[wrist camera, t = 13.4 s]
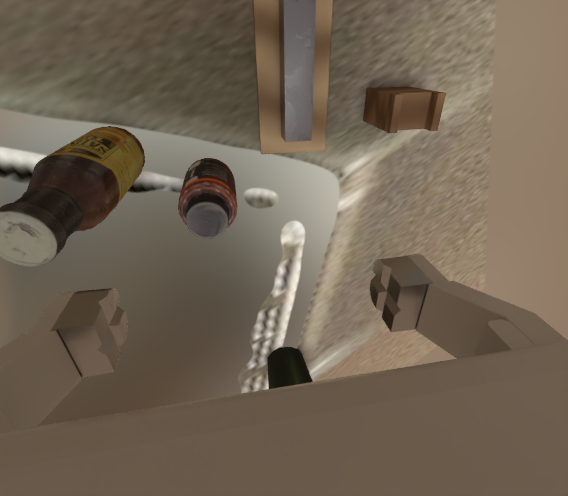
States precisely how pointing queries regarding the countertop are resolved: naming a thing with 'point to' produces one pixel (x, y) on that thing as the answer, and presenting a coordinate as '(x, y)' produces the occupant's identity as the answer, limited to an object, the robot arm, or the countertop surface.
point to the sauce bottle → (69, 194)
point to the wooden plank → (270, 77)
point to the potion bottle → (287, 368)
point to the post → (403, 108)
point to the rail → (296, 68)
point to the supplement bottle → (208, 198)
